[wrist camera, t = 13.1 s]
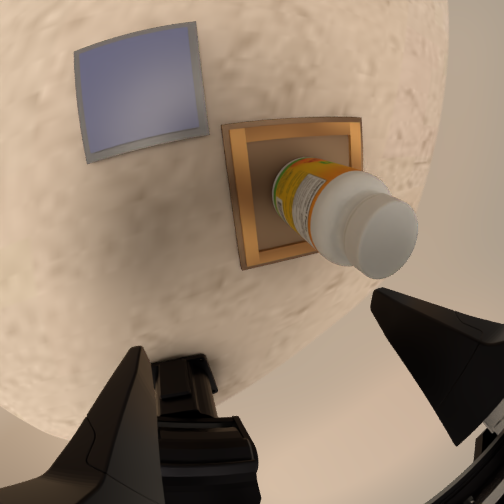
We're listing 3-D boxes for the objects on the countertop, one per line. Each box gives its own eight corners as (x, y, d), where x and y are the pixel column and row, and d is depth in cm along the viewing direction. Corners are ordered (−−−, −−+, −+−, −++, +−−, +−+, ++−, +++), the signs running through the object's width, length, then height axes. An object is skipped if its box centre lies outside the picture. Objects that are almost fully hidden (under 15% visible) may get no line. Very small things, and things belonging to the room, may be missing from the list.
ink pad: (207, 134, 17) (210, 134, 15) (93, 161, 15) (84, 165, 13) (194, 28, 13) (196, 17, 11) (80, 56, 12) (70, 49, 10)
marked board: (358, 240, 24) (362, 243, 23) (241, 268, 22) (243, 272, 21) (358, 117, 19) (363, 117, 18) (221, 125, 17) (222, 124, 16)
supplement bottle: (344, 173, 20) (440, 212, 12) (316, 233, 22) (394, 299, 13) (288, 143, 18) (381, 163, 10) (258, 212, 20) (324, 280, 11)
